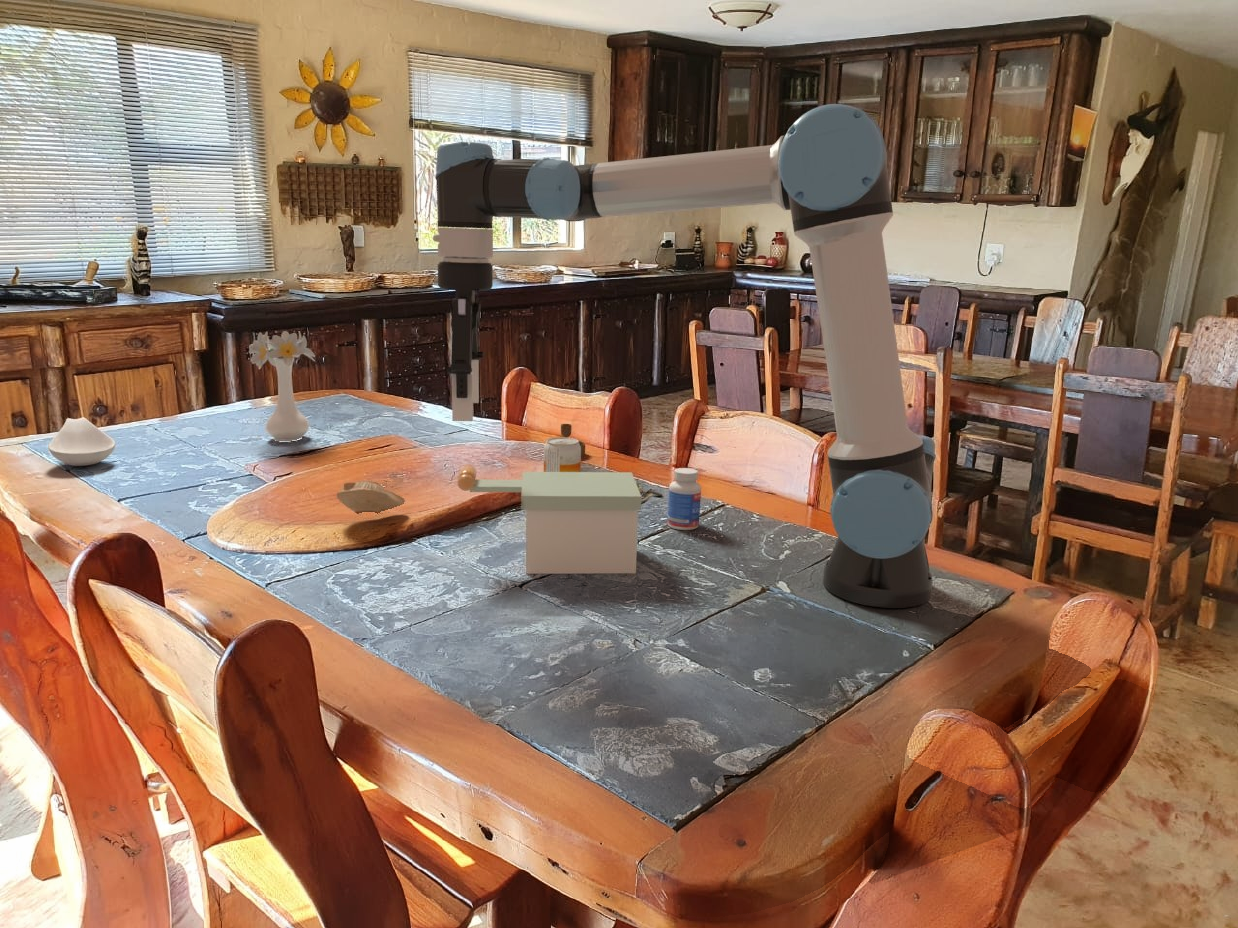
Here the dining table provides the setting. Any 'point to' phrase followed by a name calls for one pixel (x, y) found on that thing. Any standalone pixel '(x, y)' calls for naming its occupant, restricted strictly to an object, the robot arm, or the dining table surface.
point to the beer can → (562, 455)
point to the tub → (581, 541)
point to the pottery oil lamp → (368, 497)
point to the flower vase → (283, 382)
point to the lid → (563, 489)
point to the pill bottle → (684, 500)
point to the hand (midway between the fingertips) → (466, 411)
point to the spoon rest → (81, 443)
